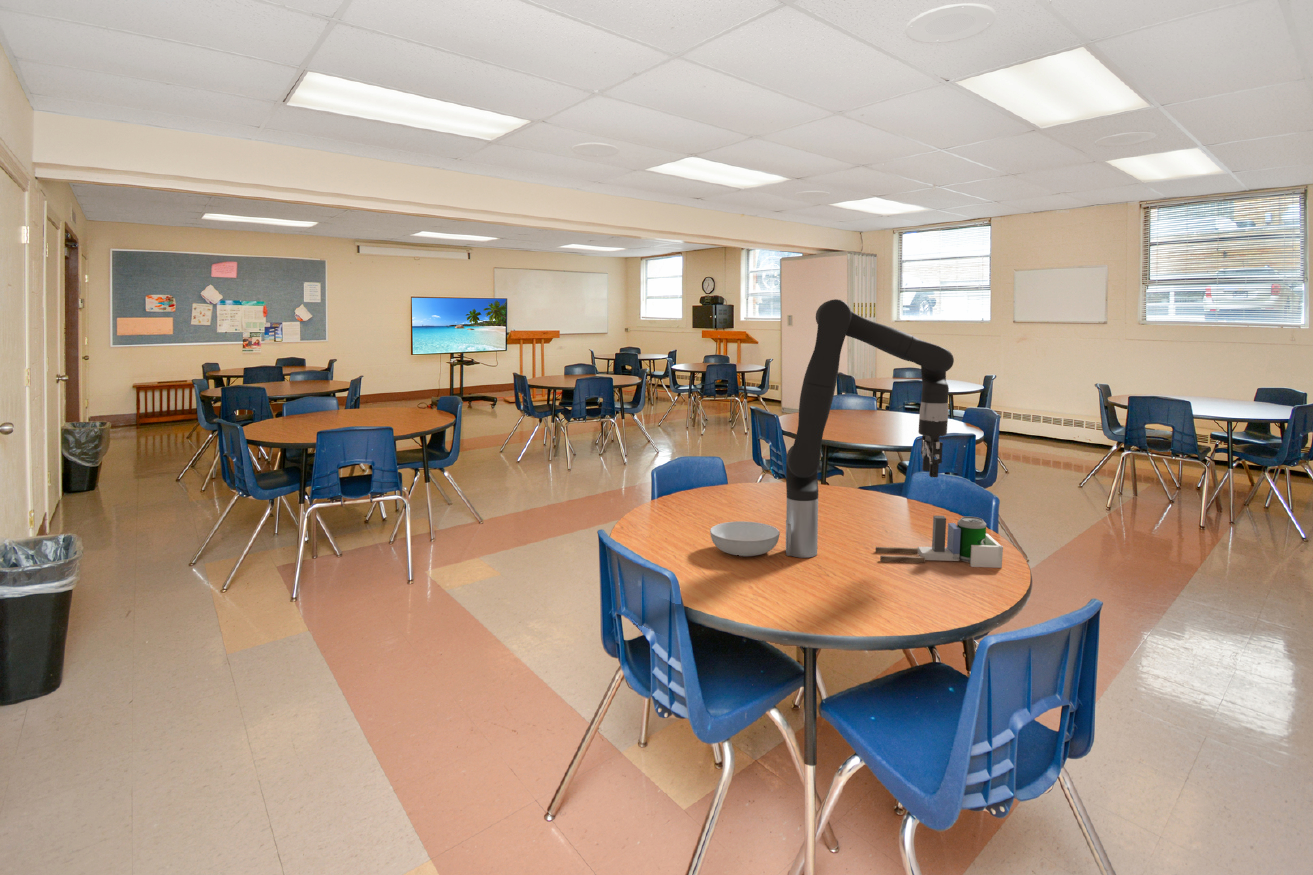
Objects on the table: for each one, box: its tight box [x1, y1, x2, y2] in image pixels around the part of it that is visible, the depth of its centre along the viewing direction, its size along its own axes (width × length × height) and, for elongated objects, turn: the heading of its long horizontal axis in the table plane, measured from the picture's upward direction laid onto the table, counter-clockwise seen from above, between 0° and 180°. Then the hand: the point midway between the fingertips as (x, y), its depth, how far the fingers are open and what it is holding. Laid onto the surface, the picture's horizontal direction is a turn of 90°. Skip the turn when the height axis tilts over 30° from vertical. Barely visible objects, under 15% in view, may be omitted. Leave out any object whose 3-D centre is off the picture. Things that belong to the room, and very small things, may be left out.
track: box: [875, 546, 926, 564], centre depth 196 cm, size 12×9×2 cm
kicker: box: [917, 515, 961, 562], centre depth 193 cm, size 10×6×12 cm, turn 81°
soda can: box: [956, 516, 987, 563], centre depth 192 cm, size 8×8×12 cm
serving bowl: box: [709, 520, 781, 557], centre depth 203 cm, size 21×21×7 cm
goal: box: [969, 532, 1004, 569], centre depth 192 cm, size 8×13×6 cm, turn 171°
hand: (929, 473), depth 192 cm, fingers open, 8 cm apart
